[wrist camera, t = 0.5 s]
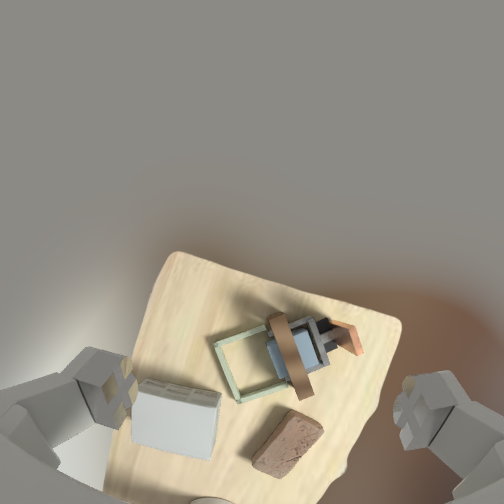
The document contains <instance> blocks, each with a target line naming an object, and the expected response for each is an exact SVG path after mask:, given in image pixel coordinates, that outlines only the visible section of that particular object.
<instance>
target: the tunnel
mask: <svg viewBox="0 0 504 504" xmlns="http://www.w3.org/2000/svg"><path fill="white" fill-rule="evenodd" d="M267 318H268V321H269V323H270V325H271V328H272V330H273V333H274V336H275V338H276V341H277V344H278V346H279V349H280V352H281V354H282V357H283V360H284V362H285V365H286V367H287V370H288V373H289V375H290V378H291V381H292V384H293V387H294V389H295V392H296V394H297V396H298V399H299V401H300V400H303V399H306V398H308V397H311V396H313V395H315V394H314V392H313V389H312V386H311V384H310V381H309V378H308V375H307V373H306V370H305V367H304V364H303V362H302V359H301V356H300V354H299V351H298V348H297V346H296V343H295V340H294V337H293V335H292V332H291V329H290V327H289V324H288V321H287V319H286V316H285V314H284V313H282V312H279V313H277V314H274V315H271V316H269V317H267Z"/></svg>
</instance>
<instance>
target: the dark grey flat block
mask: <svg viewBox="0 0 504 504" xmlns="http://www.w3.org/2000/svg"><path fill="white" fill-rule="evenodd" d="M315 323H316V326H317V328H318V331H319V334H320V333H323V332H325V331H328V330H330V329H331V327H330V324H329V321H328V319H327V318H325V319H322V320H320V321H318V322H315ZM323 345H324V348H325V351H326V353H327V352H329V351H332V350H334V349H336V348H338V347H337V344H336V341H335V339H334V340H331V341H329V342H327V343H324V344H323Z"/></svg>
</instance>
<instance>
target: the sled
mask: <svg viewBox="0 0 504 504" xmlns="http://www.w3.org/2000/svg"><path fill="white" fill-rule="evenodd" d="M305 323H307V326H308V329H309V331H310V334H311V337H312V340H313V342H314V345H315V348H316V351H317V353H318V356H319V359H320V361H318V362H319V364H318V365H315V366H313V367H311V368H308V369H306V373H307V374H308V373H311V372H313V371H316V370H318V369H320V368H323V367H325V366H328V365H330V362H329V359H328V356H327V354H326V351H325V348H324V345H323V344H324V343H327V342H329V341H331V340H334V339H335V341H336V344H337V345H339V346H341V347H342V348H344V349H346V350H348V351H349V352H351V353H353V354H355V355H356V356H359V355H361V354H363V353H364V352H363V349H362V346H361V343H360V340H359V337H358V334H357V331H356V328H355V326H353V325H350V324H346V323H342V322H339V321H335V320H333V321H331V322H329V324H330V327H331V329H330V330H328V331H325V332H323V333H320V334H319V331H318V328H317V326H316V323H315V320H314V318H312V316H311V315H308V316H306V317H303V318H301V319H298V320H296V321H293V322H291V323H288V324H289V327H290V329H292V328H295V327H297V326H300V325H302V324H305ZM267 332H268V335H269V337H271V336H274V333H273V330H269V331H267ZM285 379H286V382H287V381H290V380H291V378H290V376H287V377H285Z"/></svg>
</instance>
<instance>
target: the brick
mask: <svg viewBox="0 0 504 504" xmlns="http://www.w3.org/2000/svg"><path fill="white" fill-rule="evenodd" d="M323 433H324V430H323V427H322V426H321V424H320V423H319V422H317V421H315V420H313V419H311V418H309V417H306V416H305V415H303V414H300V413H298V412H296V411H293V410H291V411H289V413H287V415H286V416H285V417H284V419H283V421H282V422H280V423H279V425H278V427H277V428H276V429H275V431H274V432H273V433H272V435H271V436H270V437H269V438H268V440H267V441H266V442H265V443H264V445H263V446H262V447H261V448H260V449H259V450H258V451H257V452H256V454H255V455H254V456H253V458H252V466H253V467H254V468H256V469H257V470H259V471H261V472H264V473H267V474H268V475H271V476H273V477H275V478H278V479H282V478H283V477H284V476H285V475H286V474H288V473H289V472H290V471H291V470H292V469H293V467H294V466H295V464H296V463H297V462H298V461H299V458H301V457H302V456H303V455H304V454H305V453H306V452H307V451H308V449H309V448H311V447H312V445H313V444H314V443H315V442H316V441H317V440H318V439H319V438H320V437H321V435H322V434H323Z"/></svg>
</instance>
